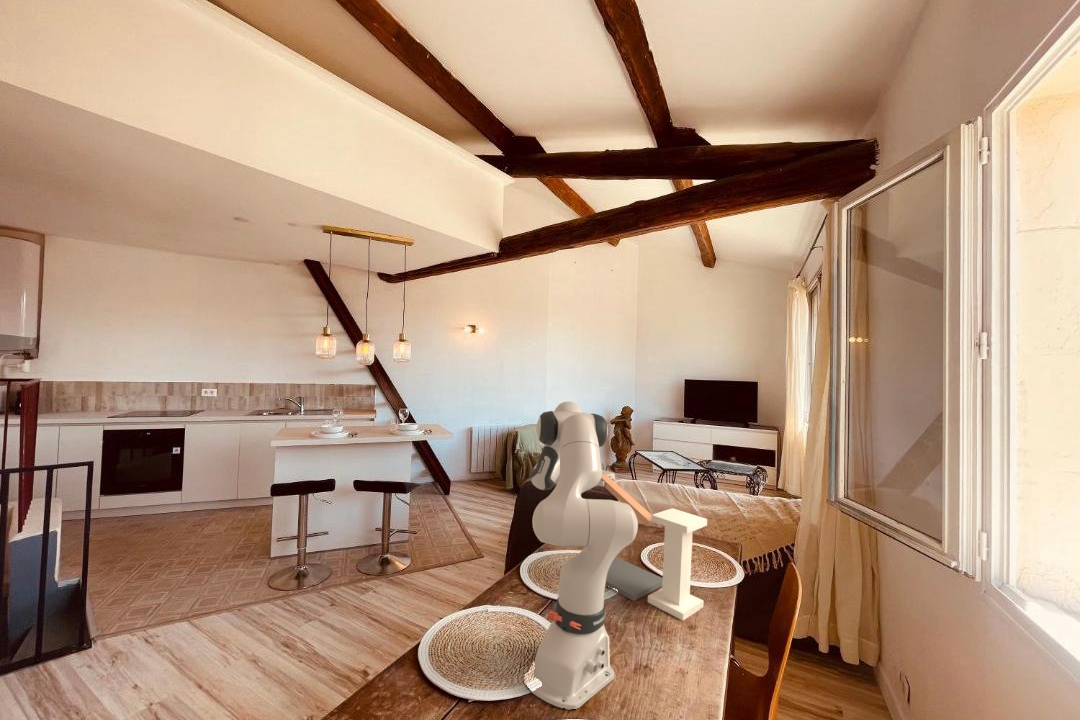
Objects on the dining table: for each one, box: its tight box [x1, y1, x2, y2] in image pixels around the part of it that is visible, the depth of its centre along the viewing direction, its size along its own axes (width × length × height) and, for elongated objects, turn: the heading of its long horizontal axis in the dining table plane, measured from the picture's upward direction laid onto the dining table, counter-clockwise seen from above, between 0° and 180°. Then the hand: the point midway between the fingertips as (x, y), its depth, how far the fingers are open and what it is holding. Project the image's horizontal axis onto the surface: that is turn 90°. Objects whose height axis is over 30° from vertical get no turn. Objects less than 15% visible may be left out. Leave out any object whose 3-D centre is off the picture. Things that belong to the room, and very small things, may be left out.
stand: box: [647, 507, 708, 621], centre depth 131 cm, size 12×12×27 cm
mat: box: [605, 556, 663, 602], centre depth 148 cm, size 26×18×2 cm
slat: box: [601, 475, 656, 527], centre depth 147 cm, size 24×4×2 cm, turn 41°
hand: (609, 482), depth 153 cm, fingers closed on slat, 4 cm apart
